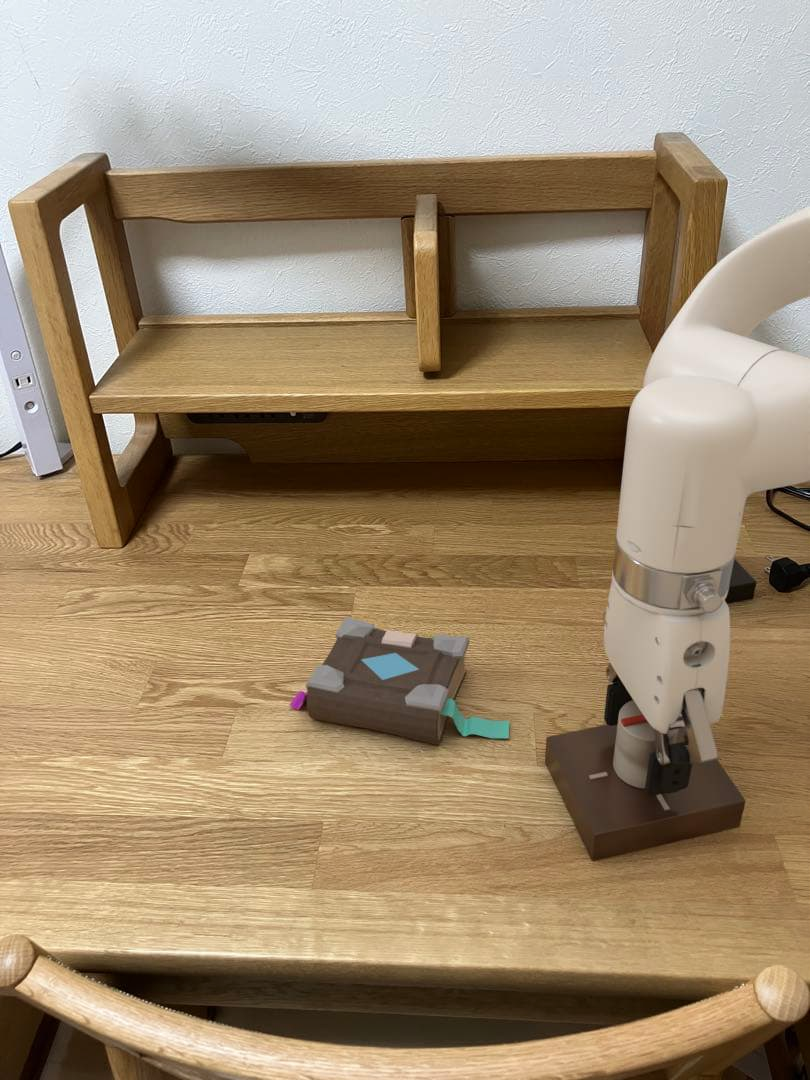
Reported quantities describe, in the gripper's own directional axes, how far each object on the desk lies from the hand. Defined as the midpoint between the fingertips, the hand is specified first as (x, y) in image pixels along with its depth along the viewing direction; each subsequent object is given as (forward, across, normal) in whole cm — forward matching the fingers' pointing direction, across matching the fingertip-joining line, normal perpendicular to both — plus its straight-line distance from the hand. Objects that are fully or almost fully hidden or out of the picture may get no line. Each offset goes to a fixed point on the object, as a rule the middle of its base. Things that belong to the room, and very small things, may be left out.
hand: (643, 752), depth 69 cm
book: (+5, +16, +15) cm, 22 cm away
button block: (+5, +24, -17) cm, 30 cm away
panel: (+5, 0, 0) cm, 5 cm away
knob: (+2, 0, 0) cm, 2 cm away
